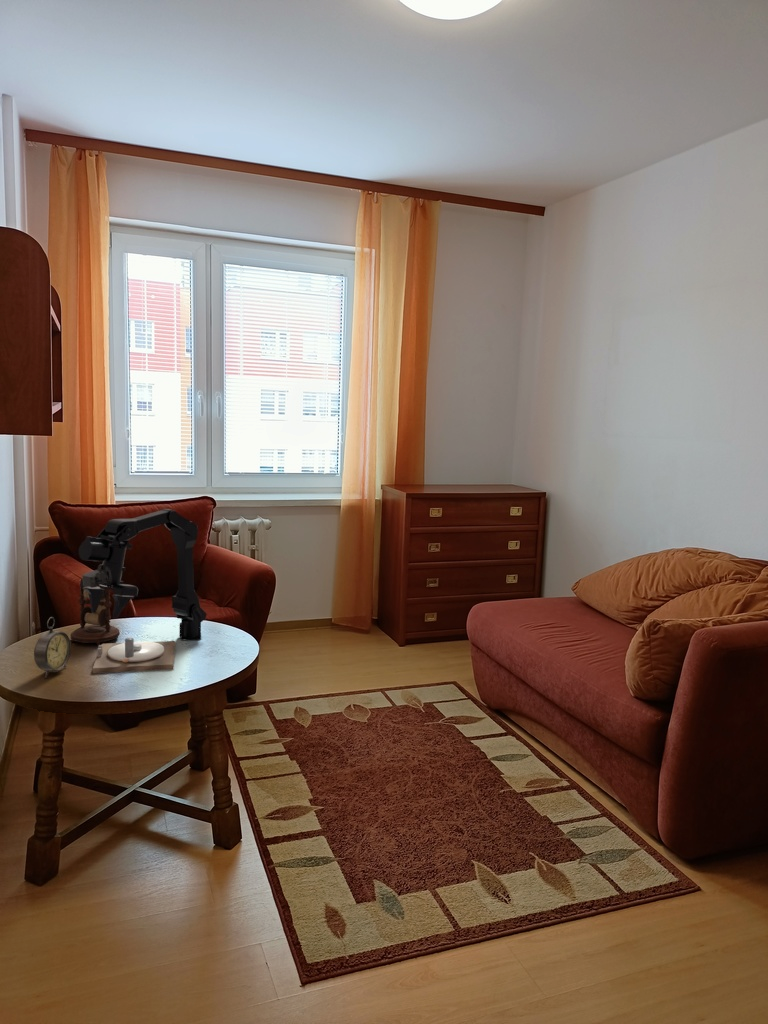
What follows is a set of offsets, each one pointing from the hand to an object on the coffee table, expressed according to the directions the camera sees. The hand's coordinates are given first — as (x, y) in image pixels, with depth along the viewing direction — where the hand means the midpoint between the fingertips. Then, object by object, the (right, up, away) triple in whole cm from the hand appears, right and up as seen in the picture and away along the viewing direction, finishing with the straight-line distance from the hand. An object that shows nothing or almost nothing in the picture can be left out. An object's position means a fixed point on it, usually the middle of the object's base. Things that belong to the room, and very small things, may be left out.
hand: (104, 615), depth 209 cm
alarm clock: (-12, -16, -6) cm, 21 cm away
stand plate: (+7, -14, +8) cm, 18 cm away
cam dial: (+7, -13, +7) cm, 16 cm away
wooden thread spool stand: (-12, -12, +24) cm, 29 cm away
